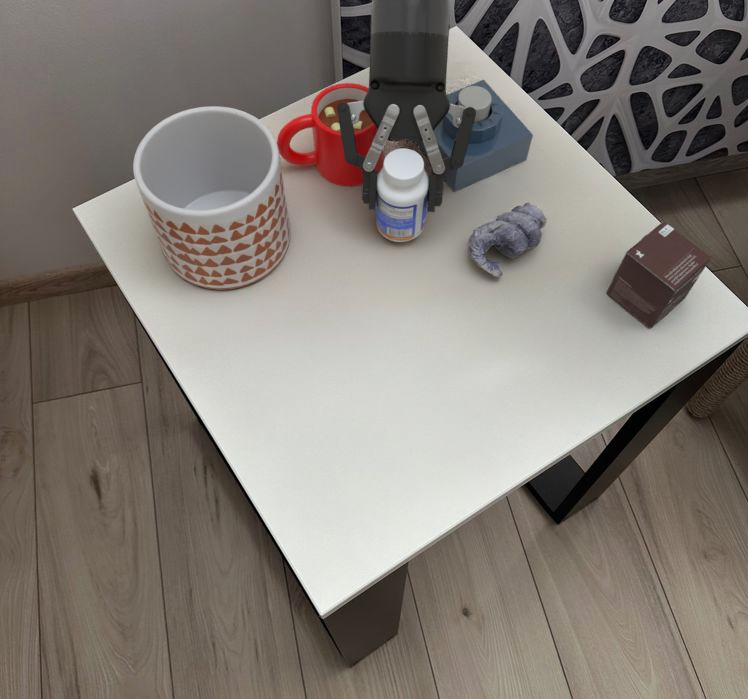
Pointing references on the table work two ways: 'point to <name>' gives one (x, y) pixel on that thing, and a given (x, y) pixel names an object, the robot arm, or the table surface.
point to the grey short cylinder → (476, 101)
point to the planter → (215, 195)
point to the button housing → (483, 142)
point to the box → (657, 274)
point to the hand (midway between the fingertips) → (401, 209)
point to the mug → (331, 136)
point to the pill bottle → (401, 196)
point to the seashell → (507, 236)
